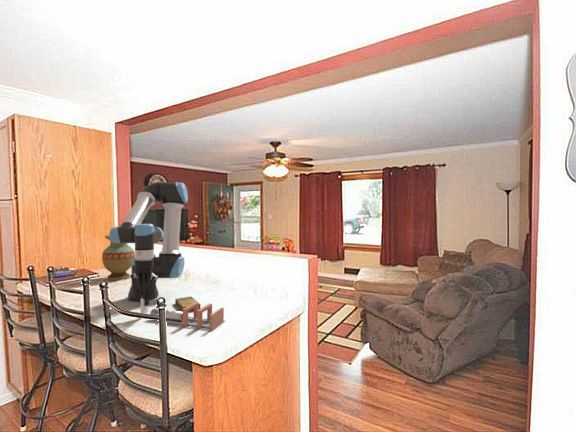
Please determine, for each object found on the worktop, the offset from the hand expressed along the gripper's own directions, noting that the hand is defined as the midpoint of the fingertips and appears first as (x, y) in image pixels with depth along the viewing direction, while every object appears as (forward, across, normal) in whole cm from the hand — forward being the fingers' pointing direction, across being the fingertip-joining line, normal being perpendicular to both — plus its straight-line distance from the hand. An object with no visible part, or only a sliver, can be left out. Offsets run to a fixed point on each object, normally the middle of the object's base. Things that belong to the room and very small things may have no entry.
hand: (144, 312), depth 132 cm
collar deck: (+3, +23, 0) cm, 23 cm away
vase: (+3, -72, +61) cm, 94 cm away
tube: (+2, +12, 0) cm, 13 cm away
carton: (+4, +10, +18) cm, 21 cm away
